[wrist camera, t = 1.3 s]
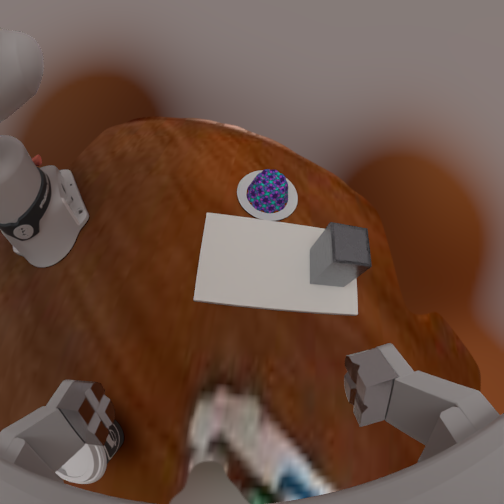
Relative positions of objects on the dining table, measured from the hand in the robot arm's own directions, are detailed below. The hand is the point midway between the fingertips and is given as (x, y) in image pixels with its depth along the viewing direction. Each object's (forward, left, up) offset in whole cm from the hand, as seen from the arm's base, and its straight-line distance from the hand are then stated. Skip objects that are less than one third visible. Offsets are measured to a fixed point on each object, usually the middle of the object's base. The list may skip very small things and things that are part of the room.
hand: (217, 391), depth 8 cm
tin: (-8, +25, -35) cm, 44 cm away
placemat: (-12, +18, -36) cm, 42 cm away
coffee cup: (+3, -21, -36) cm, 42 cm away
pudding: (-26, +23, -37) cm, 50 cm away
